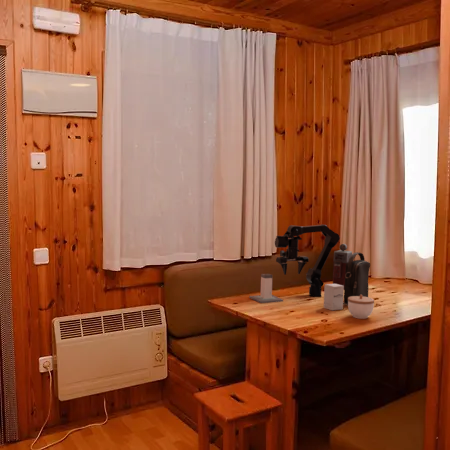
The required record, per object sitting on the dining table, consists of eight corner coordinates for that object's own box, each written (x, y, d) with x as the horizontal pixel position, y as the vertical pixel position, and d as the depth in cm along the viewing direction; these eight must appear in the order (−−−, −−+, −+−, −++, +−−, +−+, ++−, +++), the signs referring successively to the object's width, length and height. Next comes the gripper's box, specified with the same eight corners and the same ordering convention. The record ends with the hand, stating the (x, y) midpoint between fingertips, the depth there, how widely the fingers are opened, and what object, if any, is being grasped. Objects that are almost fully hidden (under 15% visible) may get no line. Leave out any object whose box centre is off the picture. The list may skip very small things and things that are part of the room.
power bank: (267, 296, 296) (268, 273, 295) (271, 298, 291) (272, 275, 290) (260, 296, 294) (261, 274, 293) (264, 298, 289) (264, 275, 288)
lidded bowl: (374, 321, 251) (375, 298, 250) (347, 319, 254) (348, 296, 253) (372, 314, 264) (373, 293, 263) (346, 312, 266) (347, 291, 265)
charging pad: (271, 296, 302) (271, 294, 302) (283, 301, 289) (283, 299, 289) (249, 297, 296) (249, 295, 296) (260, 303, 283) (260, 301, 283)
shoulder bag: (357, 297, 303) (359, 249, 301) (372, 300, 297) (374, 251, 295) (339, 304, 285) (341, 253, 283) (355, 307, 279) (357, 255, 277)
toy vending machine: (331, 288, 328) (332, 244, 326) (337, 285, 337) (339, 242, 335) (344, 290, 323) (346, 245, 321) (350, 287, 333) (352, 243, 330)
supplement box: (332, 310, 270) (333, 286, 269) (323, 307, 277) (324, 284, 276) (343, 309, 274) (344, 285, 273) (334, 306, 280) (335, 283, 279)
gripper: (299, 245, 311) (298, 271, 312) (271, 246, 303) (270, 272, 304) (309, 247, 300) (308, 274, 302) (281, 248, 293) (280, 276, 294)
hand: (292, 274), depth 301 cm, fingers open, 9 cm apart
